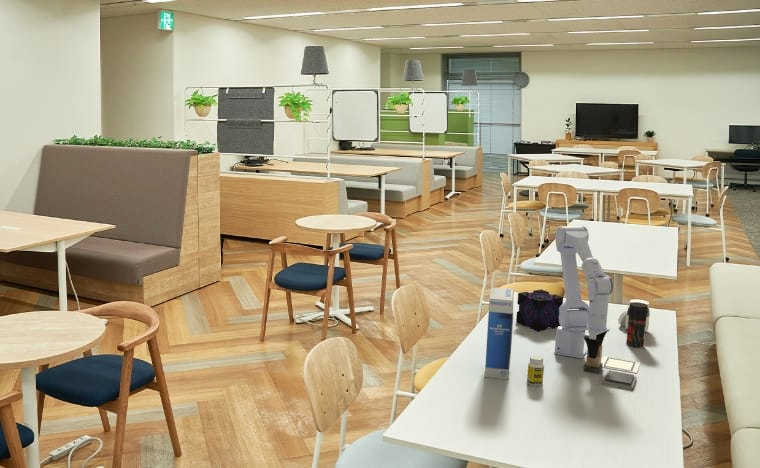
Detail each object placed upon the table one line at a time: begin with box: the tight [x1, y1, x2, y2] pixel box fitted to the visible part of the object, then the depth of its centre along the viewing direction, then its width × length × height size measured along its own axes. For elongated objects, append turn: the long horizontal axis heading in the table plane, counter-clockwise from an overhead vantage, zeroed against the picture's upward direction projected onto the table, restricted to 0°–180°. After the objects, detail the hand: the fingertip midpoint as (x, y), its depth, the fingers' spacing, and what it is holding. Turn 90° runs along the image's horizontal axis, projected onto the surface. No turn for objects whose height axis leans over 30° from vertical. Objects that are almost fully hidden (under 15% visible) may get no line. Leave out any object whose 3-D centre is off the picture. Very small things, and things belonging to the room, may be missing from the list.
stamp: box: [583, 345, 604, 375], centre depth 232 cm, size 5×5×8 cm
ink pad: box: [601, 369, 637, 391], centre depth 224 cm, size 9×9×2 cm
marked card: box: [601, 355, 641, 374], centre depth 238 cm, size 12×10×1 cm
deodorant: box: [625, 302, 649, 349], centre depth 256 cm, size 6×6×15 cm
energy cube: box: [515, 288, 564, 332], centre depth 276 cm, size 12×12×12 cm
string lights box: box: [484, 287, 515, 380], centre depth 228 cm, size 13×8×26 cm, turn 168°
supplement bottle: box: [526, 354, 545, 387], centre depth 221 cm, size 5×5×8 cm
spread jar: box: [617, 298, 651, 335], centre depth 272 cm, size 12×11×12 cm
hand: (594, 354), depth 232 cm, fingers open, 7 cm apart
